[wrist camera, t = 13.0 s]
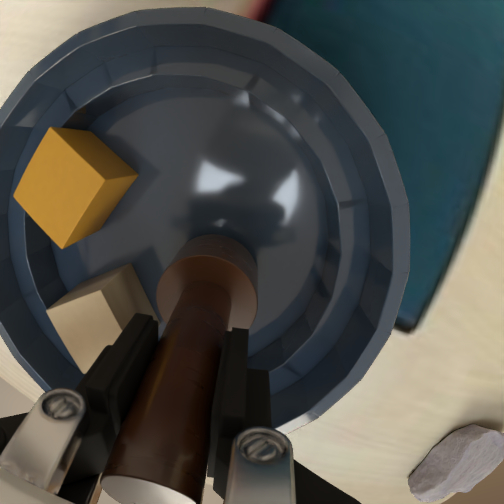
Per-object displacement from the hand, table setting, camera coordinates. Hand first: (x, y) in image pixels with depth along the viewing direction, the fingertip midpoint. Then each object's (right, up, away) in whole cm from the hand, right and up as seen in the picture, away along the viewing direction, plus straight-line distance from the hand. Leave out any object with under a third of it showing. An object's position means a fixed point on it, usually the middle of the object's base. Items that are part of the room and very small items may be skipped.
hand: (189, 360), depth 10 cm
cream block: (-6, +1, +8) cm, 10 cm away
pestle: (0, +2, +6) cm, 7 cm away
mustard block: (-7, +8, +6) cm, 11 cm away
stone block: (+25, -18, +14) cm, 34 cm away
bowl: (-2, +4, +7) cm, 9 cm away
